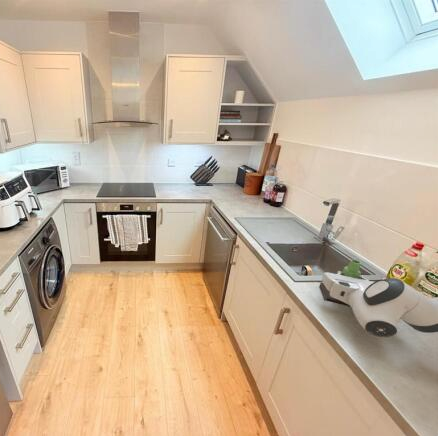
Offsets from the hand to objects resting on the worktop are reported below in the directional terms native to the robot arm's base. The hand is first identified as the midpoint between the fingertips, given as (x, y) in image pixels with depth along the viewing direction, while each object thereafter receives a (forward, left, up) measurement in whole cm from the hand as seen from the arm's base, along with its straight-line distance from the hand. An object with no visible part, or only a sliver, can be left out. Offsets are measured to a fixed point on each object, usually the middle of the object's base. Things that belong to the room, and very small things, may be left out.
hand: (349, 274), depth 96 cm
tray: (0, +1, -12) cm, 12 cm away
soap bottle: (0, +1, -10) cm, 10 cm away
